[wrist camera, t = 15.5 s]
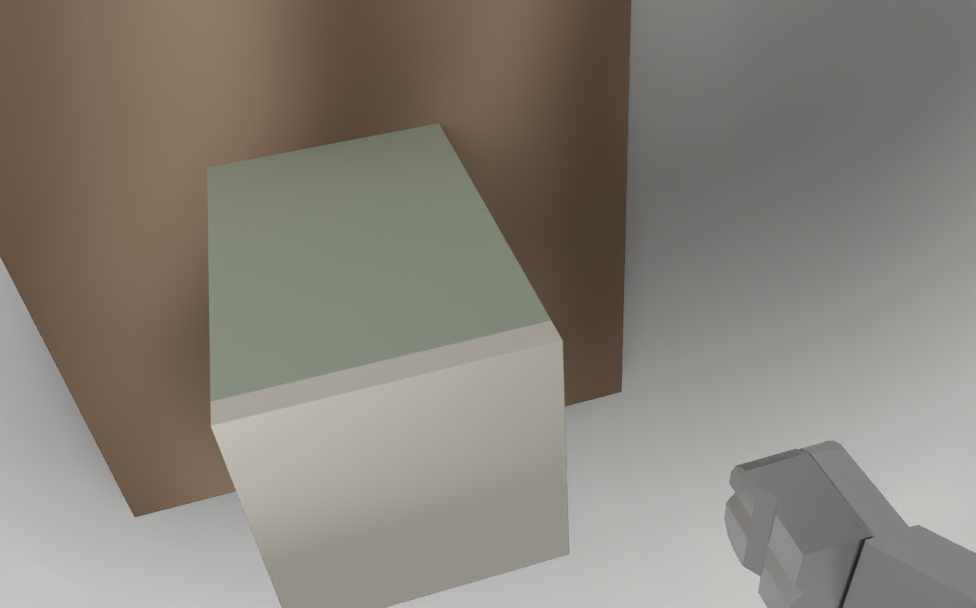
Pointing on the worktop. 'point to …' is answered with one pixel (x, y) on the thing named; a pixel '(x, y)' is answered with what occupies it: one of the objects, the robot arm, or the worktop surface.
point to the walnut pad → (274, 130)
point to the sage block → (380, 374)
